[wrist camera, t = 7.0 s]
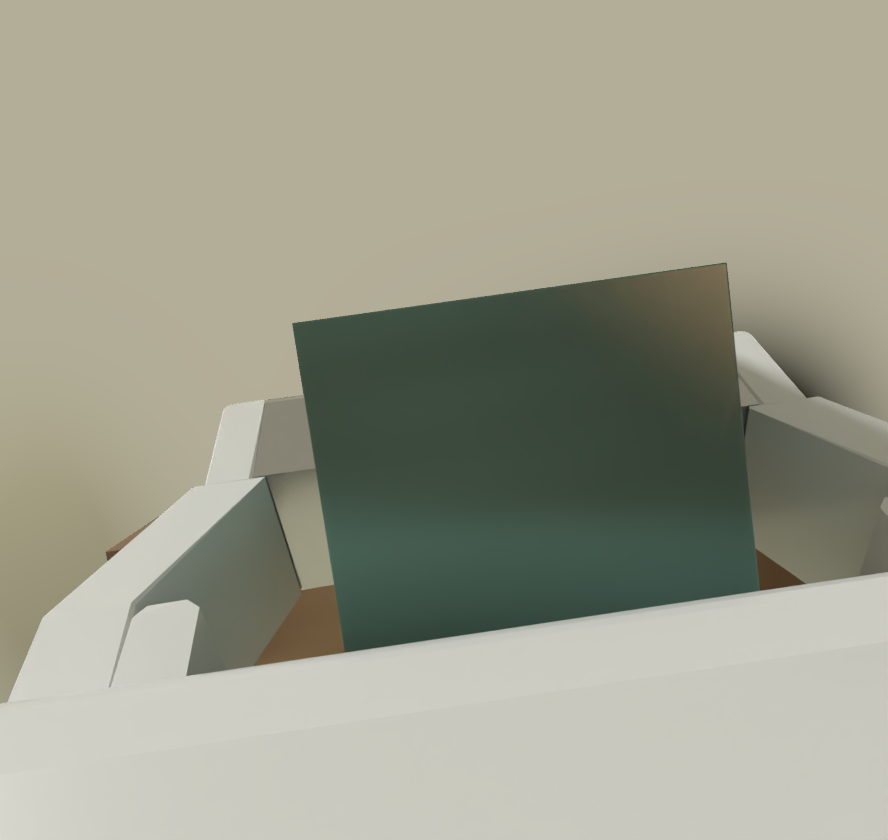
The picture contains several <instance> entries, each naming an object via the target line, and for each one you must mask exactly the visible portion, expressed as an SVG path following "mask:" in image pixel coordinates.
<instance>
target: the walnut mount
mask: <svg viewBox="0 0 888 840" xmlns="http://www.w3.org/2000/svg"><path fill="white" fill-rule="evenodd" d="M160 516H161V515H160ZM157 518H158V517H157ZM157 518H156V519H157ZM156 519H154V520H153V521H152V522H150V523H148V524H147V525H145V526H144V527H143V528H141V529H139V530H138V531H136V532H135V533H133V534H132V535H130V536H129V537H127V538H126V539H124V540H123V541H122V542H120V543H118V544H117V545H116V546H114V547H113V548H111V549H110V550H108V551H107V552H106V555H107V560H108V561H109V560H110V559H111V558H112V557H113V556H114V555H116V554H117V553H118V552H119V551H120V550H121V549H123V548H124V547H125V546H126V545H127V544H128V543H129V542H131V541H132V540H133V539H134V538H135V537H136V536H138V535H139V534H140V533H141V532H142V531H143V530H144V529H146V528H147V527H148V526H149V525H150V524H151V523H153V522H154V521H155V520H156ZM755 549H756V548H755ZM756 559H757V568H758V578H759V588H760V591H763V590H770V589H776V588H783V587H790V586H797V585H803V584H806V583H804V582H803V581H801V580H800V579H799V578H797V577H796V576H794V575H793V574H791V573H790V572H789V571H787V570H786V569H784V568H783V567H781V566H780V565H779V564H777V563H776V562H774V561H773V560H772V559H770V558H769V557H767V556H766V555H764V554H763V553H762V552H760V551H759V550H757V549H756ZM301 593H302V594H301V596H300V597H299V599H298V600H297V602H296V603H295V605H294V606H293V608H292V609H291V611H290V612H289V614H288V615H287V617H286V618H285V620H284V621H283V622H282V624H281V625H280V627H279V628H278V630H277V631H276V633H275V634H274V636H273V637H272V639H271V640H270V642H269V643H268V645H267V646H266V648H265V649H264V651H263V652H262V654H261V655H260V656H259V658H258V659H257V661H256V662H255V664H254V665H253V666H258V665H265V664H272V663H279V662H285V661H292V660H299V659H306V658H312V657H319V656H326V655H333V654H339V653H345V651H344V645H343V638H342V632H341V626H340V620H339V613H338V607H337V601H336V595H335V588H334V585H329V586H323V587H317V588H312V589H306V590H301Z"/></svg>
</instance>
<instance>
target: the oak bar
mask: <svg viewBox="0 0 888 840" xmlns="http://www.w3.org/2000/svg"><path fill="white" fill-rule="evenodd" d="M292 325H293V331H294V337H295V344H296V349H297V356H298V362H299V369H300V375H301V381H302V387H303V394H304V400H305V406H306V413H307V419H308V425H309V431H310V438H311V444H312V450H313V456H314V463H315V469H316V475H317V482H318V488H319V494H320V500H321V507H322V513H323V519H324V526H325V532H326V538H327V544H328V551H329V557H330V563H331V569H332V576H333V582H334V588H335V595H336V601H337V607H338V613H339V620H340V626H341V632H342V638H343V645H344V651H345V653H346V652H353V651H360V650H366V649H373V648H380V647H387V646H393V645H400V644H407V643H414V642H421V641H427V640H434V639H441V638H448V637H454V636H461V635H468V634H475V633H481V632H488V631H495V630H501V629H508V628H515V627H521V626H528V625H535V624H541V623H548V622H555V621H561V620H568V619H575V618H581V617H588V616H595V615H601V614H608V613H615V612H621V611H628V610H635V609H641V608H648V607H655V606H661V605H668V604H675V603H681V602H688V601H695V600H702V599H709V598H715V597H722V596H729V595H736V594H742V593H749V592H756V591H760V588H759V578H758V568H757V559H756V549H755V539H754V529H753V519H752V509H751V499H750V489H749V479H748V469H747V459H746V450H745V440H744V430H743V420H742V410H741V400H740V390H739V380H738V370H737V360H736V351H735V341H734V331H733V321H732V311H731V301H730V291H729V282H728V272H727V263H720V264H713V265H706V266H699V267H691V268H684V269H677V270H670V271H663V272H656V273H649V274H641V275H635V276H627V277H620V278H613V279H605V280H599V281H592V282H584V283H577V284H570V285H563V286H556V287H548V288H541V289H534V290H527V291H520V292H513V293H506V294H498V295H492V296H484V297H478V298H470V299H463V300H456V301H449V302H442V303H434V304H427V305H420V306H413V307H406V308H399V309H392V310H385V311H377V312H370V313H363V314H356V315H348V316H341V317H334V318H327V319H320V320H313V321H306V322H298V323H293V324H292Z"/></svg>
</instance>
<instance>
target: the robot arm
mask: <svg viewBox="0 0 888 840" xmlns="http://www.w3.org/2000/svg"><path fill="white" fill-rule="evenodd" d="M734 341H735V351H736V360H737V370H738V380H739V390H740V400H741V410H742V420H743V430H744V440H745V450H746V459H747V469H748V479H749V489H750V499H751V509H752V519H753V529H754V539H755V548H756V549H757V550H759V551H760V552H762V553H763V554H764V555H766V556H767V557H769V558H770V559H772V560H773V561H774V562H776V563H777V564H779V565H780V566H781V567H783V568H784V569H786V570H787V571H789V572H790V573H791V574H793V575H794V576H796V577H797V578H799V579H800V580H801V581H803V582H804V583H806V584H803V585H797V586H790V587H783V588H776V589H770V590H763V591H756V592H749V593H742V594H736V595H729V596H722V597H715V598H709V599H702V600H695V601H688V602H681V603H675V604H668V605H661V606H655V607H648V608H641V609H635V610H628V611H621V612H615V613H608V614H601V615H595V616H588V617H581V618H575V619H568V620H561V621H555V622H548V623H541V624H535V625H528V626H521V627H515V628H508V629H501V630H495V631H488V632H481V633H475V634H468V635H461V636H454V637H448V638H441V639H434V640H427V641H421V642H414V643H407V644H400V645H393V646H387V647H380V648H373V649H366V650H360V651H353V652H346V653H339V654H333V655H326V656H319V657H312V658H306V659H299V660H292V661H285V662H279V663H272V664H265V665H258V666H253V665H254V664H255V662H256V661H257V659H258V658H259V656H260V655H261V654H262V652H263V651H264V649H265V648H266V646H267V645H268V643H269V642H270V640H271V639H272V637H273V636H274V634H275V633H276V631H277V630H278V628H279V627H280V625H281V624H282V622H283V621H284V620H285V618H286V617H287V615H288V614H289V612H290V611H291V609H292V608H293V606H294V605H295V603H296V602H297V600H298V599H299V597H300V596H301V594H302V593H301V590H306V589H312V588H317V587H323V586H329V585H334V582H333V576H332V569H331V563H330V557H329V551H328V544H327V538H326V532H325V526H324V519H323V513H322V507H321V500H320V494H319V488H318V482H317V475H316V469H315V463H314V456H313V450H312V444H311V438H310V431H309V425H308V419H307V413H306V406H305V400H304V395H300V396H292V397H284V398H276V399H269V400H267V401H266V400H258V401H252V402H245V403H239V404H232V405H228V406H227V407H226V408H225V409H224V410H223V413H222V417H221V421H220V425H219V430H218V434H217V438H216V442H215V446H214V450H213V455H212V459H211V463H210V467H209V471H208V475H207V479H206V483H205V485H204V486H197V487H193V488H192V489H191V490H189V491H188V492H187V493H186V494H185V495H184V496H183V497H181V498H180V499H179V500H178V501H177V502H176V503H175V504H173V505H172V506H171V507H170V508H169V509H168V510H166V511H165V512H164V513H163V514H162V515H161V516H159V517H158V518H157V519H156V520H155V521H154V522H153V523H151V524H150V525H149V526H148V527H147V528H146V529H144V530H143V531H142V532H141V533H140V534H139V535H138V536H136V537H135V538H134V539H133V540H132V541H131V542H129V543H128V544H127V545H126V546H125V547H124V548H123V549H121V550H120V551H119V552H118V553H117V554H116V555H114V556H113V557H112V558H111V559H110V560H109V561H108V562H106V563H105V564H104V565H103V566H102V567H101V568H100V569H98V570H97V571H96V572H95V573H94V574H93V575H92V576H90V577H89V578H88V579H87V580H86V581H85V582H84V583H82V584H81V585H80V586H79V587H78V588H77V589H75V590H74V591H73V592H72V593H71V594H70V595H68V596H67V597H66V598H65V599H64V600H63V601H62V602H60V603H59V604H58V605H57V606H56V607H55V608H53V609H52V610H51V611H50V612H49V613H48V614H46V615H45V616H44V617H43V618H42V621H41V623H40V626H39V628H38V630H37V633H36V635H35V638H34V640H33V642H32V645H31V647H30V650H29V652H28V654H27V657H26V659H25V662H24V664H23V666H22V669H21V671H20V674H19V676H18V678H17V681H16V683H15V686H14V688H13V690H12V693H11V695H10V698H9V700H8V702H7V703H2V704H0V840H888V423H887V422H885V421H882V420H879V419H877V418H874V417H871V416H869V415H866V414H863V413H861V412H858V411H855V410H853V409H850V408H847V407H845V406H842V405H839V404H837V403H834V402H831V401H829V400H826V399H824V398H821V397H813V398H806V397H805V396H804V395H803V394H802V393H801V392H800V390H799V389H798V388H797V387H796V386H795V385H794V383H793V382H792V381H791V380H790V379H789V378H788V377H787V376H786V374H785V373H784V372H783V371H782V370H781V369H780V367H779V366H778V365H777V364H776V363H775V362H774V361H773V359H772V358H771V357H770V356H769V355H768V354H767V352H766V351H765V350H764V349H763V348H762V347H761V346H760V344H759V343H758V342H757V341H756V340H755V339H754V338H753V337H752V335H751V334H750V333H747V332H744V331H739V332H734Z"/></svg>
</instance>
